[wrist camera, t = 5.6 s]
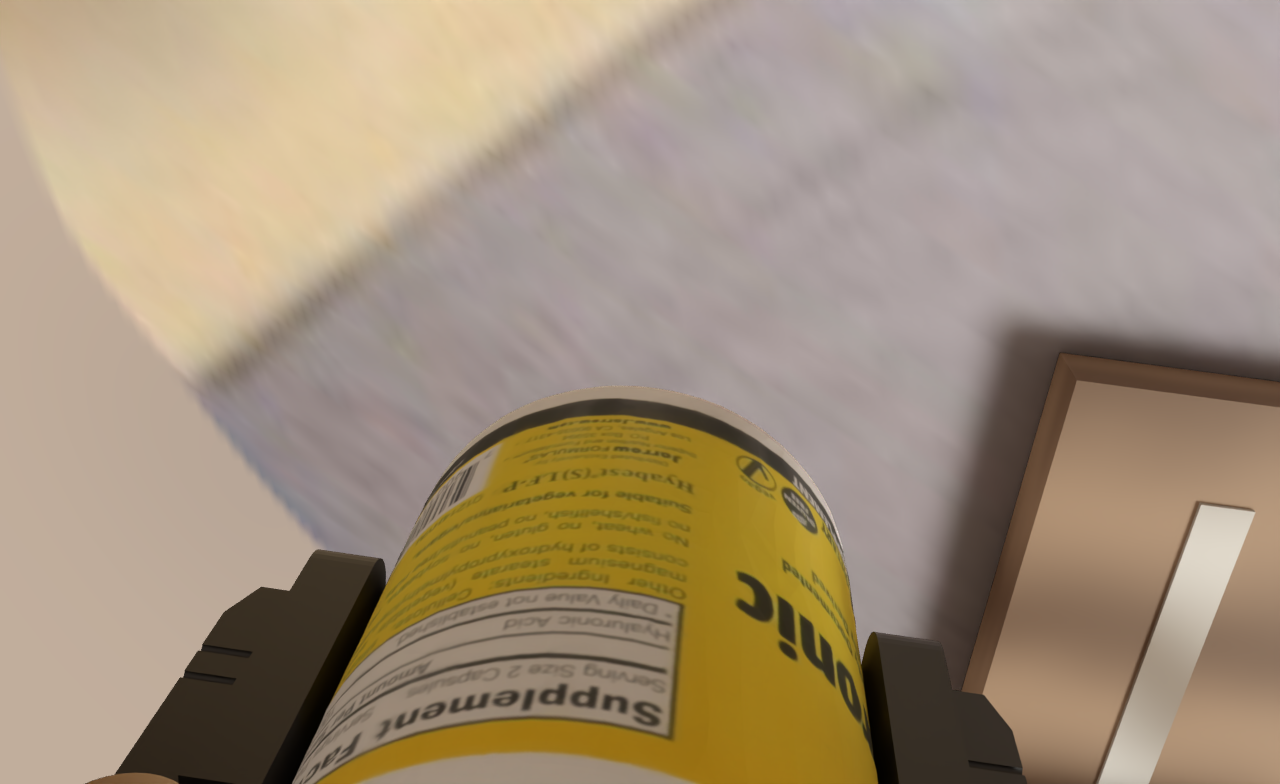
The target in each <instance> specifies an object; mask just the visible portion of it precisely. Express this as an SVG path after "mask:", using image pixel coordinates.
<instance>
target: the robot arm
mask: <svg viewBox="0 0 1280 784" xmlns="http://www.w3.org/2000/svg"><path fill="white" fill-rule="evenodd" d="M385 586H386V571H385V564H384V561H383V559H381V558H374V557H367V556H360V555H353V554H346V553H340V552H333V551H326V550H316V551H315V552H314V553H313V554H312V555H311V557H310V558H309V560H308V562H307V563H306V565H305V567H304V568H303V570H302V571H301V573H300V575H299V576H298V578H297V580H296V581H295V583H294V585H293V586H292V588H291V590H290V591H286V590H279V589H273V588H265V587H260V588H259V589H257V590H256V591H254V592H253V593H251V594H250V595H249V596H247V597H246V598H244V599H243V600H241V601H240V602H238V603H237V604H235V605H234V606H232V607H231V608H229V609H228V610H227V611H225V612H224V613H223V614H222V616H221V617H220V619H219V620H218V622H217V624H216V625H215V626H214V628H213V629H212V631H211V632H210V634H209V635H208V637H207V638H206V640H205V641H204V643H203V644H202V649H201V651H198V652H197V653H196V655H195V656H194V657H193V659H192V660H191V662H190V663H189V665H188V666H187V668H186V669H185V673H184V677H183V678H179V680H178V681H177V683H176V684H175V686H174V687H173V689H172V690H171V692H170V693H169V695H168V696H167V698H166V699H165V701H164V702H163V703H162V705H161V706H160V708H159V710H158V711H157V712H156V714H155V715H154V717H153V718H152V720H151V721H150V723H149V725H148V726H147V727H146V729H145V730H144V732H143V733H142V735H141V736H140V738H139V739H138V741H137V742H136V744H135V745H134V747H133V748H132V750H131V751H130V753H129V754H128V755H127V757H126V758H125V760H124V761H123V763H122V764H121V766H120V767H119V769H118V770H117V772H116V774H115V775H111V776H106V777H103V778H99V779H96V780H93V781H90V782H88V783H85V784H292V782H293V780H294V778H295V776H296V774H297V772H298V770H299V767H300V765H301V763H302V761H303V759H304V757H305V754H306V752H307V750H308V748H309V746H310V744H311V742H312V740H313V738H314V736H315V734H316V732H317V730H318V728H319V725H320V723H321V721H322V719H323V716H324V714H325V712H326V710H327V708H328V706H329V704H330V702H331V700H332V698H333V696H334V694H335V692H336V689H337V687H338V685H339V683H340V681H341V679H342V677H343V674H344V672H345V670H346V668H347V666H348V664H349V662H350V660H351V658H352V656H353V654H354V652H355V650H356V648H357V646H358V644H359V642H360V640H361V638H362V636H363V634H364V631H365V629H366V627H367V625H368V623H369V620H370V618H371V616H372V614H373V612H374V610H375V608H376V606H377V603H378V601H379V599H380V597H381V595H382V593H383V591H384V589H385ZM861 668H862V674H863V682H864V690H865V697H866V703H867V710H868V717H869V724H870V732H871V739H872V746H873V757H874V763H875V767H876V771H877V778H878V784H1027V781H1026V777H1025V776H1024V775H1022V770H1023V767H1022V763H1021V760H1020V756H1019V752H1018V749H1017V745H1016V742H1015V738H1014V735H1013V731H1012V729H1011V728H1010V727H1009V726H1008V724H1007V723H1006V722H1005V721H1004V719H1003V718H1002V717H1001V716H1000V714H999V713H998V712H997V711H996V709H995V708H994V707H993V706H992V704H991V703H990V702H989V700H988V699H987V698H986V697H985V695H982V694H976V693H969V692H962V691H955V690H952V687H951V683H950V678H949V674H948V669H947V665H946V660H945V656H944V652H943V648H942V645H941V643H940V642H939V641H933V640H926V639H919V638H912V637H905V636H898V635H892V634H885V633H878V632H872V633H871V635H870V636H869V639H868V641H867V644H866V648H865V652H864V656H863V660H862V664H861Z"/></svg>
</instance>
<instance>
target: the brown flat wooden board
mask: <svg viewBox="0 0 1280 784" xmlns="http://www.w3.org/2000/svg"><path fill="white" fill-rule="evenodd" d="M962 692H969V693H976V694H982V695H985V697H986V698H987V699H988V700H989V702H990V703H991V704H992V706H993V707H994V708H995V709H996V711H997V712H998V713H999V714H1000V716H1001V717H1002V718H1003V719H1004V721H1005V722H1006V723H1007V724H1008V726H1009V727H1010V728H1011V729H1012V731H1013V735H1014V738H1015V742H1016V745H1017V749H1018V752H1019V756H1020V760H1021V763H1022V767H1023V770H1022V775H1024V776H1025V777H1026V781H1027V784H1280V382H1276V381H1268V380H1261V379H1253V378H1246V377H1238V376H1231V375H1223V374H1216V373H1208V372H1201V371H1193V370H1186V369H1178V368H1171V367H1163V366H1156V365H1148V364H1141V363H1133V362H1126V361H1118V360H1111V359H1103V358H1096V357H1088V356H1081V355H1073V354H1066V353H1060V354H1059V357H1058V360H1057V364H1056V367H1055V371H1054V374H1053V378H1052V381H1051V384H1050V388H1049V391H1048V395H1047V398H1046V402H1045V405H1044V409H1043V412H1042V415H1041V419H1040V422H1039V426H1038V429H1037V433H1036V436H1035V440H1034V443H1033V446H1032V450H1031V453H1030V457H1029V460H1028V464H1027V467H1026V470H1025V474H1024V477H1023V481H1022V484H1021V488H1020V491H1019V495H1018V498H1017V501H1016V505H1015V508H1014V512H1013V515H1012V519H1011V522H1010V526H1009V529H1008V532H1007V536H1006V539H1005V543H1004V546H1003V550H1002V553H1001V557H1000V560H999V563H998V567H997V570H996V574H995V577H994V581H993V584H992V587H991V591H990V594H989V598H988V601H987V605H986V608H985V612H984V615H983V618H982V622H981V625H980V629H979V632H978V636H977V639H976V643H975V646H974V649H973V653H972V656H971V660H970V663H969V667H968V670H967V673H966V677H965V680H964V684H963V687H962Z"/></svg>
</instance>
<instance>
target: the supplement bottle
mask: <svg viewBox="0 0 1280 784" xmlns="http://www.w3.org/2000/svg"><path fill="white" fill-rule="evenodd" d="M292 784H878V778H877V771H876V767H875V763H874V757H873V746H872V739H871V732H870V724H869V717H868V710H867V703H866V697H865V690H864V682H863V674H862V668H861V661H860V654H859V648H858V641H857V634H856V625H855V617H854V613H853V605H852V597H851V590H850V582H849V577H848V572H847V568H846V563H845V558H844V552H843V547H842V543H841V540H840V537H839V533H838V530H837V528H836V525H835V522H834V519H833V517H832V514H831V511H830V509H829V508H828V506H827V504H826V502H825V500H824V498H823V497H822V495H821V493H820V491H819V489H818V488H817V486H816V485H815V484H814V482H813V481H812V479H811V478H810V476H809V475H808V474H807V473H806V471H805V470H804V469H803V468H802V467H801V465H800V464H799V463H798V462H797V461H796V459H795V458H794V457H793V456H792V455H791V454H790V453H789V452H788V451H787V450H786V449H785V448H784V447H783V446H782V445H781V444H779V443H778V442H777V441H776V440H774V439H773V438H772V437H771V436H770V435H768V434H767V433H766V432H765V431H763V430H762V429H761V428H759V427H758V426H756V425H755V424H753V423H752V422H750V421H748V420H747V419H745V418H743V417H741V416H740V415H738V414H736V413H734V412H732V411H730V410H728V409H726V408H724V407H722V406H719V405H717V404H714V403H711V402H709V401H706V400H703V399H701V398H697V397H694V396H690V395H686V394H683V393H678V392H674V391H669V390H663V389H657V388H649V387H638V386H603V387H594V388H587V389H580V390H573V391H569V392H565V393H561V394H556V395H553V396H549V397H546V398H543V399H539V400H537V401H535V402H532V403H530V404H527V405H525V406H523V407H521V408H519V409H517V410H515V411H513V412H511V413H509V414H507V415H506V416H504V417H502V418H500V419H499V420H498V421H496V422H495V423H494V424H492V425H491V426H489V427H488V428H487V429H485V430H484V431H483V432H481V433H480V434H479V435H478V436H476V437H475V438H474V439H473V440H472V441H471V442H470V443H469V444H468V445H467V446H466V447H465V448H464V449H463V450H462V451H461V452H460V453H459V454H458V455H457V456H456V457H455V458H454V460H453V461H452V462H451V464H450V465H449V466H448V468H447V469H446V470H445V472H444V473H443V475H442V476H441V478H440V480H439V481H438V483H437V484H436V486H435V488H434V489H433V491H432V493H431V495H430V496H429V498H428V500H427V501H426V503H425V505H424V508H423V510H422V512H421V514H420V516H419V518H418V520H417V521H416V523H415V526H414V528H413V529H412V531H411V534H410V536H409V538H408V540H407V542H406V545H405V547H404V549H403V551H402V552H401V554H400V556H399V558H398V561H397V563H396V565H395V568H394V570H393V571H392V573H391V575H390V578H389V580H388V582H387V584H386V586H385V589H384V591H383V593H382V595H381V597H380V599H379V601H378V603H377V606H376V608H375V610H374V612H373V614H372V616H371V618H370V620H369V623H368V625H367V627H366V629H365V631H364V634H363V636H362V638H361V640H360V642H359V644H358V646H357V648H356V650H355V652H354V654H353V656H352V658H351V660H350V662H349V664H348V666H347V668H346V670H345V672H344V674H343V677H342V679H341V681H340V683H339V685H338V687H337V689H336V692H335V694H334V696H333V698H332V700H331V702H330V704H329V706H328V708H327V710H326V712H325V714H324V716H323V719H322V721H321V723H320V725H319V728H318V730H317V732H316V734H315V736H314V738H313V740H312V742H311V744H310V746H309V748H308V750H307V752H306V754H305V757H304V759H303V761H302V763H301V765H300V767H299V770H298V772H297V774H296V776H295V778H294V780H293V782H292Z"/></svg>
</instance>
